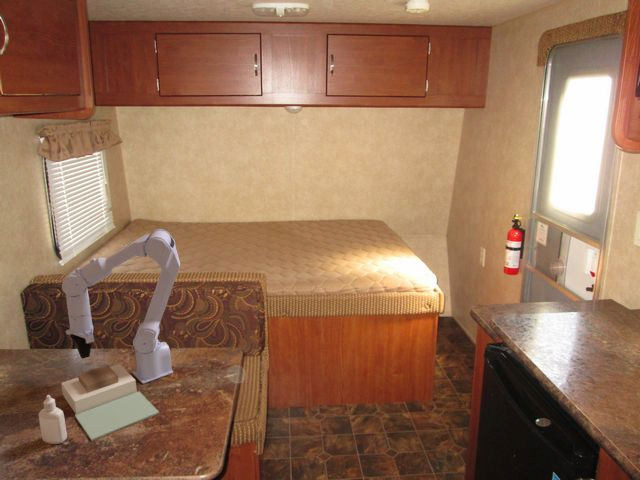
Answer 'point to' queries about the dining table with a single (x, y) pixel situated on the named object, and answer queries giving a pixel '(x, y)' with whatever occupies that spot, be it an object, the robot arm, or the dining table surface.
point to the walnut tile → (98, 378)
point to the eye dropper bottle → (52, 422)
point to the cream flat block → (98, 391)
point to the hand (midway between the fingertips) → (85, 356)
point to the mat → (116, 415)
